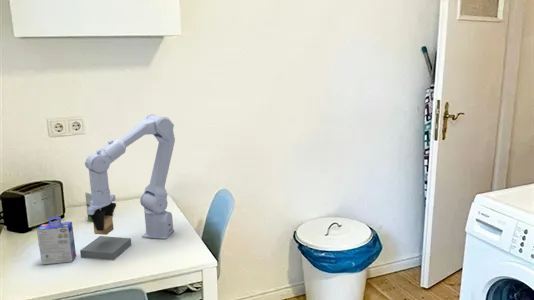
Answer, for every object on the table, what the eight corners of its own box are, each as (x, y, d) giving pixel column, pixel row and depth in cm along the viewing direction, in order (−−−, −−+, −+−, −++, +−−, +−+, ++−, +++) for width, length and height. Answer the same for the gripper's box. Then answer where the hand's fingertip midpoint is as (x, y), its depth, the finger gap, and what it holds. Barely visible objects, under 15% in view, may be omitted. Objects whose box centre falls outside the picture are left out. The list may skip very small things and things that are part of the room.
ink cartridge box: (76, 254, 158) (71, 214, 154) (73, 262, 152) (68, 220, 149) (45, 257, 156) (40, 217, 153) (41, 265, 151) (35, 223, 147)
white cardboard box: (94, 222, 185) (91, 194, 183) (87, 220, 188) (84, 192, 186) (113, 216, 192) (110, 188, 189) (106, 213, 195) (103, 186, 192)
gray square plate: (131, 246, 164) (130, 238, 164) (113, 261, 153) (112, 253, 152) (100, 243, 167) (99, 236, 166) (81, 258, 155) (80, 250, 155)
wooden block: (113, 229, 161) (112, 215, 159) (106, 234, 156) (105, 220, 155) (101, 228, 161) (100, 215, 160) (94, 233, 157) (92, 220, 156)
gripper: (100, 182, 163) (104, 218, 166) (76, 195, 149) (81, 235, 152) (119, 183, 162) (123, 219, 165) (96, 196, 148) (100, 236, 151)
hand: (104, 227), depth 158 cm, fingers closed on wooden block, 4 cm apart
